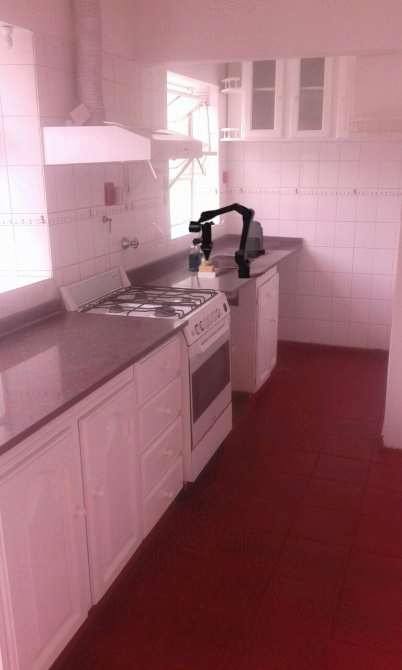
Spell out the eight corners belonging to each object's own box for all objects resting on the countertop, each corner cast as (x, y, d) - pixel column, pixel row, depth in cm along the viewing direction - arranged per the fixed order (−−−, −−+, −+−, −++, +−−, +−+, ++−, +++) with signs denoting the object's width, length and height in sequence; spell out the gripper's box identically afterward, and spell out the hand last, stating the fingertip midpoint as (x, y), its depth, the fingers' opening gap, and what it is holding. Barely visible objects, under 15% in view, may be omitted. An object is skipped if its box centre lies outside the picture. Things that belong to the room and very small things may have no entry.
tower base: (216, 275, 368) (216, 269, 367) (215, 278, 358) (214, 272, 357) (200, 275, 369) (199, 269, 368) (198, 278, 360) (198, 272, 359)
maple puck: (212, 264, 364) (212, 257, 363) (211, 266, 359) (211, 259, 358) (202, 264, 365) (202, 257, 364) (201, 266, 359) (201, 259, 358)
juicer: (245, 251, 457) (245, 218, 450) (266, 252, 453) (267, 218, 446) (237, 258, 429) (237, 222, 422) (260, 258, 425) (260, 222, 419)
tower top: (214, 270, 366) (214, 264, 365) (212, 272, 358) (212, 266, 357) (201, 269, 367) (201, 264, 366) (199, 272, 360) (198, 266, 359)
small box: (196, 271, 379) (196, 255, 376) (188, 271, 382) (188, 254, 380) (206, 269, 387) (206, 252, 384) (198, 268, 391) (198, 252, 388)
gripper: (194, 231, 366) (195, 257, 371) (191, 234, 349) (192, 262, 353) (213, 231, 365) (213, 257, 370) (210, 234, 348) (211, 261, 352)
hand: (207, 259), depth 361 cm, fingers open, 9 cm apart
